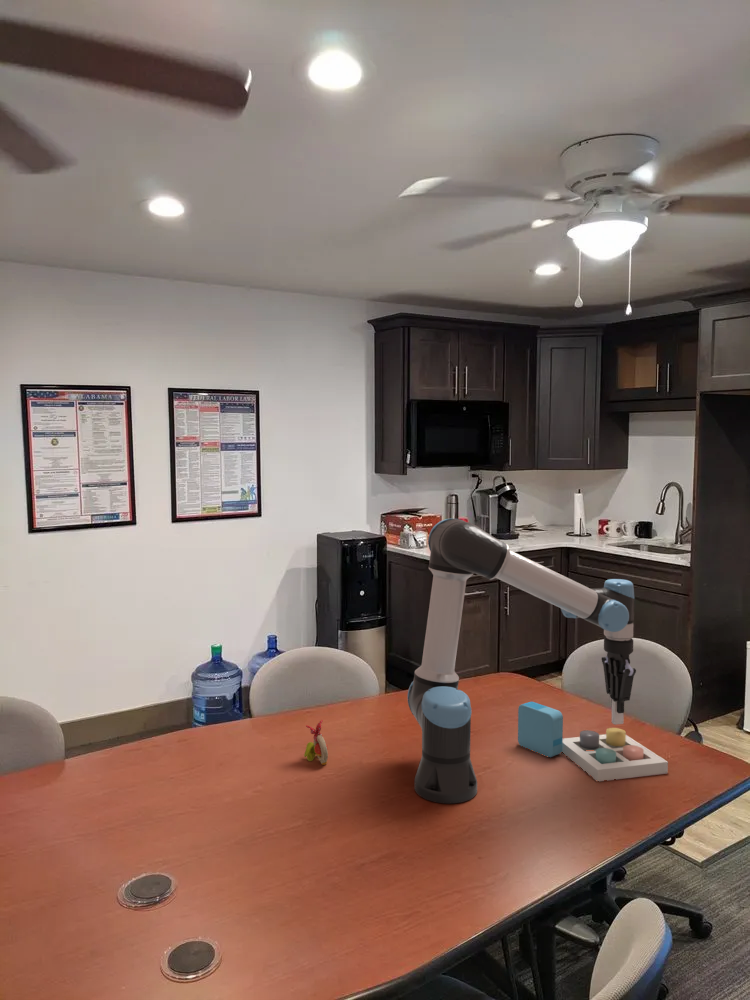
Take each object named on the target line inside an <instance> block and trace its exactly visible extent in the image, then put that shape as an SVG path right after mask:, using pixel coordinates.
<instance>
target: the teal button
mask: <svg viewBox="0 0 750 1000" xmlns="http://www.w3.org/2000/svg"><path fill="white" fill-rule="evenodd" d="M596 760H597V761H598V762H600V763H601V764H606V763H615V762H616V752H615V751H614V750H612V749H608V748H599V749H596Z"/></svg>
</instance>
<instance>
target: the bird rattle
mask: <svg viewBox="0 0 750 1000" xmlns="http://www.w3.org/2000/svg"><path fill="white" fill-rule="evenodd" d="M322 724H323V719H321V720H320V721H319V722H318V723H317V724H316V726H315V729H314V728H313V727H312V726H310V725H307V724H306V725H305V727H306V728H308V729H309V731H310V734H311V735H313V742H311V741H310V742H307V744H306V748H305V752H304V754H303V756H304V757H305V758H306V760H307V761H308V762H313V760H314V759H315V757H317V759H318V761H319V762H320V764H321V766H325V765H327V764H328V758H329V753H328V750H329V748H328V745H327V743H326V741H325V739H324V735H323V734H322V733H321V731H322Z"/></svg>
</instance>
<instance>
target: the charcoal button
mask: <svg viewBox="0 0 750 1000" xmlns="http://www.w3.org/2000/svg"><path fill="white" fill-rule="evenodd" d="M599 735H600V734H599V732H597V731H594V730H586V729H585V730H581V731H580V732H579V737H580V746H581V747H583V748H586V749H597V748H599Z"/></svg>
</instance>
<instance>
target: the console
mask: <svg viewBox="0 0 750 1000" xmlns="http://www.w3.org/2000/svg"><path fill="white" fill-rule="evenodd" d="M626 745H634V746H638V747H641V748H642V749H643V750H644V753H643V759H642V760H633V761H629V760H628V759H626V758H625V757H623V747H624V746H626ZM624 746H612V745H609V744H607V743H606V733H605V734H599V748H608V749H612V750H614V751H615V752H616V762H615V763H606V764H601V763H600V762H598V761H597V760H596V749H586V748H583V747H581V746H580V736H577V737H575V736H574V737H564V738H563V742H562V752H563V753H564V754H565V755H566V756H568V757H569V758H570V759H571V760H572V761H574V762H575V763H576V764H577V765H579V766H580V767H581V768H582V769H583V770H582V769H581V768H580V767H579V766H578V767H579V768H580V769H581V770H582V771H584V772H585V771H586V772H587V773H588V774H587V773H586V772H585V773H586V774H587V775H588V776H590V775H591V776H592V777H593V778H592V777H591V776H590V777H591V778H592V779H593V780H594V781H596V780H597V781H599V782H604V780H607V781H614V779H616V780H622V779H631V778H638V777H639V778H640V777H648V776H656V775H664V774H669V773H668V771H669V770H668V769H669V767H668V766H669V762H668V761H667V760H666V759H664V758H663V757H662V756H660V755H658V754H656V753H655V752H654V751H652V750H650V749H649V748H647V747H646V746H644V745H643V744H641V743H639V742H638V741H636V740H634V739H633V738H632V737H630V736H629V735H627V734H626V743H625V745H624ZM599 748H597V749H599ZM586 750H594V751H586ZM563 753H562V754H563ZM564 754H563V755H564ZM565 755H564V756H565ZM566 756H565V757H566ZM568 757H567V758H568ZM569 758H568V759H569ZM570 759H569V760H570ZM571 760H570V761H571ZM572 761H571V762H572ZM574 762H573V763H574ZM575 763H574V764H575ZM576 764H575V765H576ZM577 765H576V766H577ZM597 781H596V782H597Z"/></svg>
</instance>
